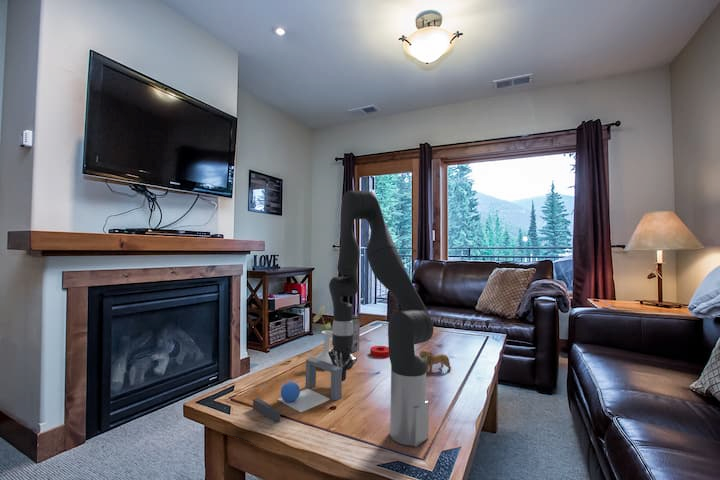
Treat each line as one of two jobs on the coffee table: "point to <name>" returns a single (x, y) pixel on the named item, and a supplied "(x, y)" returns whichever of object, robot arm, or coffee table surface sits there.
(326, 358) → the flower in vase
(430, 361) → the lion figurine
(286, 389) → the ball
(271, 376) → the coffee table surface
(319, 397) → the white panel
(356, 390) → the coffee table surface
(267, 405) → the wall
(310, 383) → the gray arch
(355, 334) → the coffee box
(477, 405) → the coffee table surface
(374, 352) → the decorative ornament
